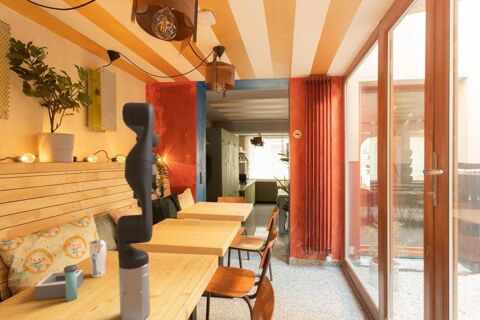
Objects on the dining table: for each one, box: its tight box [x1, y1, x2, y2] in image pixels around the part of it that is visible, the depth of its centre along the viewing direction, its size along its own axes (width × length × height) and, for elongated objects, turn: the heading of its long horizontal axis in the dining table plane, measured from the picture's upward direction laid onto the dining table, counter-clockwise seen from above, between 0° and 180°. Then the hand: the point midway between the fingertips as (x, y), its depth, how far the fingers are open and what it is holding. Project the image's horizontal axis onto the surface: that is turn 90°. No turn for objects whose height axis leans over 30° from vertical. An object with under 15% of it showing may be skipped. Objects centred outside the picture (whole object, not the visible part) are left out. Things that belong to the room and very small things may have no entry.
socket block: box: [34, 269, 84, 301], centre depth 107 cm, size 12×12×5 cm
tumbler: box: [88, 238, 108, 278], centre depth 122 cm, size 7×7×15 cm
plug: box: [63, 264, 78, 302], centre depth 101 cm, size 4×4×12 cm
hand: (149, 206), depth 131 cm, fingers open, 8 cm apart
